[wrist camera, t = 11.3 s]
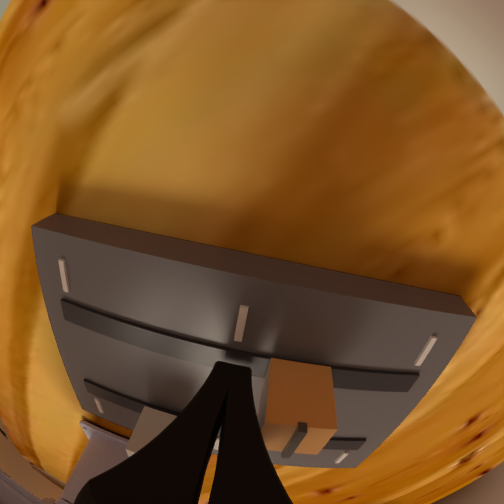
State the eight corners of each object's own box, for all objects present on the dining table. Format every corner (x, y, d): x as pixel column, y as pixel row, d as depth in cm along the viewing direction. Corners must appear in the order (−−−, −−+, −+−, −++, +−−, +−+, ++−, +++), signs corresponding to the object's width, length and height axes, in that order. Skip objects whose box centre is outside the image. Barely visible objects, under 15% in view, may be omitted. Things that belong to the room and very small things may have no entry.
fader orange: (314, 397, 11) (317, 460, 8) (260, 389, 11) (252, 453, 8) (331, 365, 10) (338, 434, 7) (271, 356, 10) (264, 427, 8)
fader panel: (353, 448, 17) (355, 469, 15) (92, 392, 18) (81, 410, 16) (460, 296, 11) (478, 319, 9) (55, 213, 12) (28, 227, 10)
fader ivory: (186, 435, 14) (172, 480, 11) (148, 423, 14) (130, 466, 11) (186, 418, 13) (170, 468, 10) (144, 405, 13) (123, 452, 10)
